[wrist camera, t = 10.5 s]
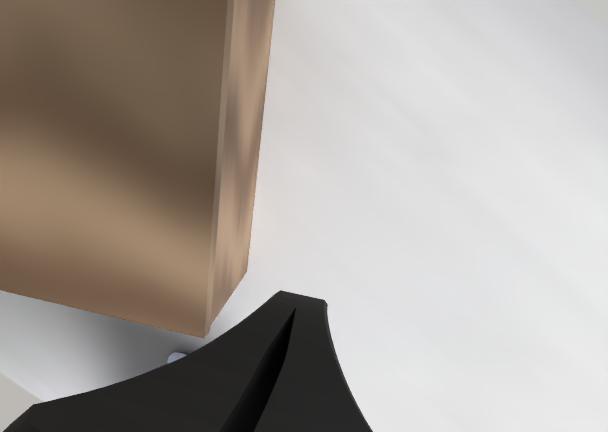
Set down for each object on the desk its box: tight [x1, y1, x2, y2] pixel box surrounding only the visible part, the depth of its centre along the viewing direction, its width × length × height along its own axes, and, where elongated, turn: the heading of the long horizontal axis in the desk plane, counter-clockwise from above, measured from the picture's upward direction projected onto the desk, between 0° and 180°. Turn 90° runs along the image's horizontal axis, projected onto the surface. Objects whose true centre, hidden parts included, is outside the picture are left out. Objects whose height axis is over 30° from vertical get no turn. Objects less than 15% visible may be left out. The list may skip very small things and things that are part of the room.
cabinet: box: [0, 0, 275, 338], centre depth 17 cm, size 14×10×6 cm
